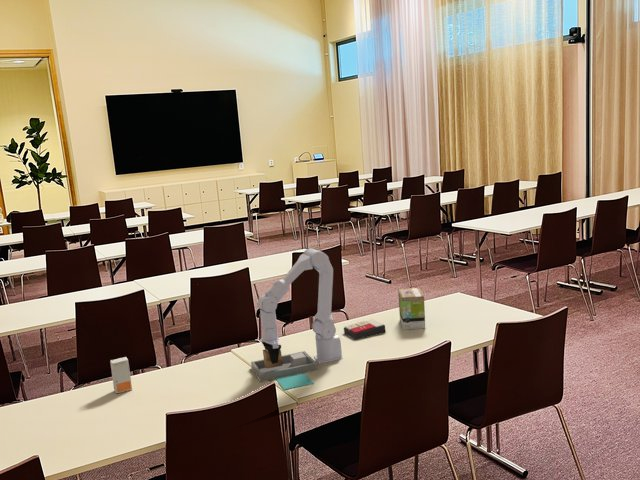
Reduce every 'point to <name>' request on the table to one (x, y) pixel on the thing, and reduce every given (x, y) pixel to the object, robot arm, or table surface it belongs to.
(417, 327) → the tea box
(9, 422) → the table surface
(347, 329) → the black and red box
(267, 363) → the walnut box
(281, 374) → the parts bin
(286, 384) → the mat
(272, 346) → the robot arm
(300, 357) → the grey box
